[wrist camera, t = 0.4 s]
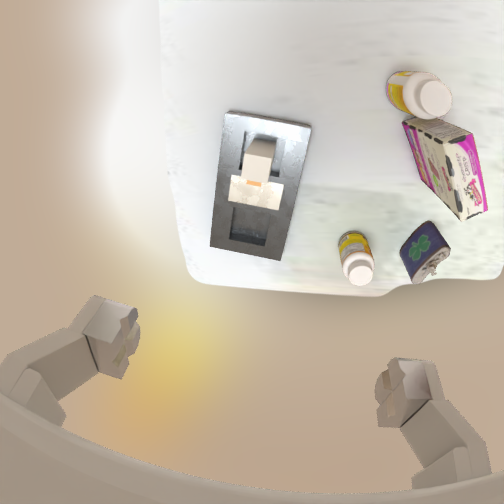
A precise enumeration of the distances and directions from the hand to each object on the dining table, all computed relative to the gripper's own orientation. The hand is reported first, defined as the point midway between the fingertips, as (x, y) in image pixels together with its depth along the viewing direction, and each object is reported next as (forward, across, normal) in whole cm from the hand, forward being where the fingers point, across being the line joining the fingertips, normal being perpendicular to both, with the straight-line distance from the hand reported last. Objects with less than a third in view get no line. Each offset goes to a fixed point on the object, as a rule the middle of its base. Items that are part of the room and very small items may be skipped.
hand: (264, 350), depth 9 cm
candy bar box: (+44, -22, -2) cm, 50 cm away
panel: (+44, +4, +12) cm, 46 cm away
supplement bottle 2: (+44, -16, -10) cm, 48 cm away
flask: (+44, -27, +15) cm, 54 cm away
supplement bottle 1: (+44, -15, +19) cm, 51 cm away
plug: (+44, +4, +6) cm, 44 cm away
